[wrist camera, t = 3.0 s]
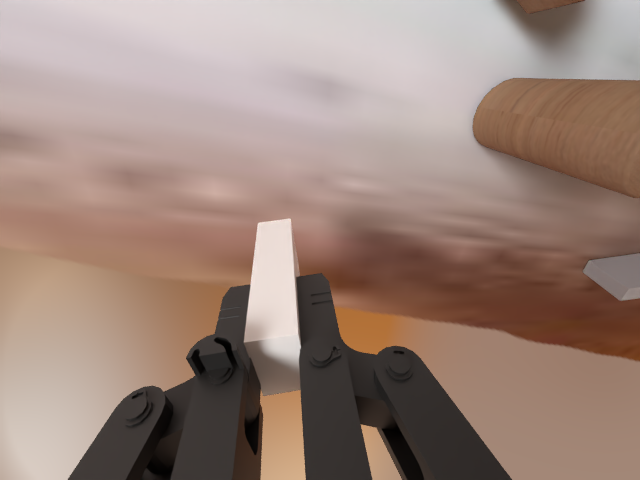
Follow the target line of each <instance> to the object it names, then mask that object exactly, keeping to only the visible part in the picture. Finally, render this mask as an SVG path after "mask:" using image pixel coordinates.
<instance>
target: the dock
mask: <svg viewBox="0 0 640 480" xmlns="http://www.w3.org/2000/svg"><path fill="white" fill-rule="evenodd" d="M583 273H584V274H586V275H587V276H588V277H590V278H591V279H592V280H593V281H595V282H596V283H597V284H599V285H600V286H601V287H603V288H604V289H605V290H607V291H608V292H609V293H610V294H612V295H613V296H614V297H616V298H617V299H618V300H620V301H624V300H631V299H637V298H640V253H637V254H630V255H623V256H616V257H609V258H602V259H595V260H589V261H588V263H587V265H586V266H585V268H584V270H583Z"/></svg>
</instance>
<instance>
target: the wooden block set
mask: <svg viewBox="0 0 640 480" xmlns="http://www.w3.org/2000/svg"><path fill="white" fill-rule="evenodd" d="M581 1H585V0H517V2H518V3H519V4H520V5H521V7H522V8H523V9H524V10H525V12H526V13H527V14H530V13H535V12H539V11H543V10H547V9H552V8H556V7H560V6H564V5H569V4H573V3H577V2H581ZM473 132H474V136H475V138H476V139H477V141H478V142H479V143H480V144H482V145H484V146H486V147H488V148H491V149H494V150H497V151H500V152H503V153H506V154H509V155H512V156H514V157H517V158H520V159H523V160H526V161H529V162H532V163H535V164H538V165H541V166H543V167H546V168H549V169H552V170H555V171H558V172H561V173H564V174H567V175H569V176H572V177H575V178H578V179H581V180H584V181H587V182H590V183H593V184H596V185H598V186H601V187H604V188H607V189H610V190H613V191H616V192H619V193H622V194H624V195H627V196H630V197H633V198H640V81H636V80H585V79H535V78H513V79H509V80H506V81H504V82H502V83H500V84H499V85H497V86H496V87H494V88H493V89H492V90H491V91H490V92H489V93H488V94H487V95H486V96H485V97H484V98H483V100H482V101H481V103H480V104H479V106H478V108H477V110H476V113H475V116H474V120H473Z"/></svg>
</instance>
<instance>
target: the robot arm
mask: <svg viewBox="0 0 640 480" xmlns="http://www.w3.org/2000/svg"><path fill="white" fill-rule="evenodd" d="M218 318H219V320H218V322H217V326H216V331H215V334H213V335H210V336H207V337H205V338H203V339H202V340H200V341H198V342H197V343H196V344H195V345H194V346H193V347H192V348H191V350H190V351H189V353H188V355H187V357H186V359H187V361H188V363H189V364H190V366H191V367H192V369H193V371H194V373H195V376H194V377H193V378H191V379H190V380H188V381H186V382H185V383H183V384H180V385H178V386H176V387H173V388H171V389H169V390H167V391H165V392H163V391H162V390H161V388H158V387H155V386H149V387H143V388H140V389H138V390H136V391H134V392H132V393H131V394H130V395H128V396H127V397H126V398H124V399H123V400H122V401H121V403H120V404H119V405H118V406H117V407H116V408H115V410H114V411H113V413H112V414H111V416H110V417H109V419H108V420H107V422H106V423H105V425H104V426H103V428H102V429H101V431H100V432H99V434H98V435H97V437H96V438H95V440H94V441H93V443H92V444H91V446H90V447H89V449H88V450H87V452H86V453H85V455H84V456H83V458H82V459H81V460H80V462H79V464H78V465H77V466H76V468H75V470H74V471H73V472H72V474H71V475H70V477H69V478H68V480H260V475H261V450H262V426H263V413H262V407H261V405H260V391H262V393H263V396H267V395H273V394H279V393H285V392H291V391H297V390H301V404H302V421H303V438H304V456H305V473H306V480H372V476H371V471H370V467H369V462H368V457H367V452H366V448H365V443H364V438H363V434H362V429H361V424H363V425H367V426H372V427H377V429H378V431H379V434H380V435H381V437H382V439H383V442H384V443H385V445H386V448H387V450H388V452H389V454H390V456H391V458H392V460H393V462H394V464H395V466H396V468H397V470H398V472H399V474H400V476H401V478H402V480H512V479H511V478H510V476H509V475H508V474H507V472H506V471H505V470H504V469H503V467H502V466H501V465H500V463H499V462H498V461H497V459H496V458H495V457H494V455H493V454H492V453H491V451H490V450H489V449H488V447H487V446H486V445H485V444H484V442H483V441H482V439H481V438H480V437H479V435H478V434H477V433H476V431H475V430H474V429H473V427H472V426H471V425H470V423H469V422H468V421H467V420H466V418H465V417H464V415H463V414H462V413H461V411H460V410H459V409H458V408H457V406H456V405H455V404H454V402H453V401H452V400H451V398H450V397H449V396H448V394H447V393H446V392H445V390H444V389H443V388H442V386H441V385H440V384H439V382H438V381H437V380H436V379H435V377H434V376H433V374H432V373H431V372H430V370H429V369H428V368H427V367H426V365H425V364H424V363H423V361H422V360H421V358H419V357H418V356H417V355H416V354H415V353H414V352H413V351H411V350H409V349H407V348H405V347H399V346H391V347H386V348H385V349H383V350H382V351H380V352H379V353H378V354H377V355H375V354H368V353H362V352H358V351H355V350H353V349H351V348H350V347H348V346H347V345H346V344H345V343H344V342H343V340H342V339H341V337H340V333H339V328H338V323H337V319H336V314H335V309H334V304H333V300H332V295H331V290H330V285H329V281H328V280H327V279H326V278H325V277H324V276H323V274H322V273H320V274H313V275H306V276H299V265H298V259H297V253H296V247H295V241H294V235H293V229H292V224H291V218H290V219H283V220H276V221H268V222H261V223H258V228H257V236H256V245H255V253H254V261H253V269H252V278H251V285H244V286H237V287H230V289H229V290H228V292H227V293H226V294H225V296H224V297H223V300H222V304H221V311H220V313H219V317H218Z"/></svg>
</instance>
